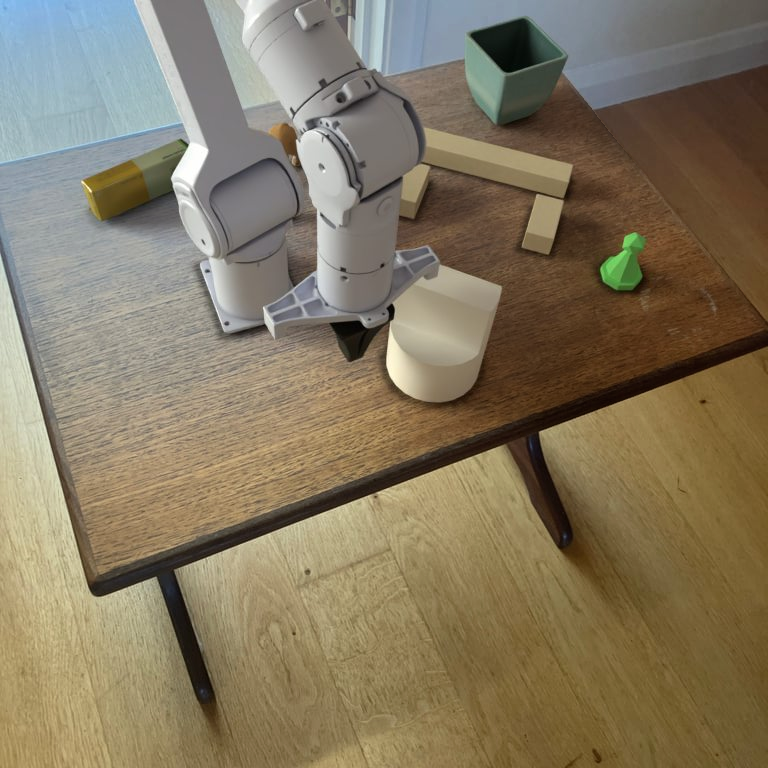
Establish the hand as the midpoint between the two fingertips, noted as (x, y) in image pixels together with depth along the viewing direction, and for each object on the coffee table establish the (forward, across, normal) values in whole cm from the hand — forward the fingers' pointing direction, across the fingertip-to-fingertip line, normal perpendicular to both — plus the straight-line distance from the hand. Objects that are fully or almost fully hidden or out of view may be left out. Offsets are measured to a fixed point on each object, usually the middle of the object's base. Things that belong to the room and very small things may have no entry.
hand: (350, 351), depth 71 cm
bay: (+7, +25, +16) cm, 31 cm away
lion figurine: (+7, +5, +26) cm, 27 cm away
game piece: (+7, +32, 0) cm, 33 cm away
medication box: (+7, -8, +32) cm, 34 cm away
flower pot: (+7, +36, +28) cm, 46 cm away
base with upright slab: (+7, +9, -1) cm, 11 cm away
